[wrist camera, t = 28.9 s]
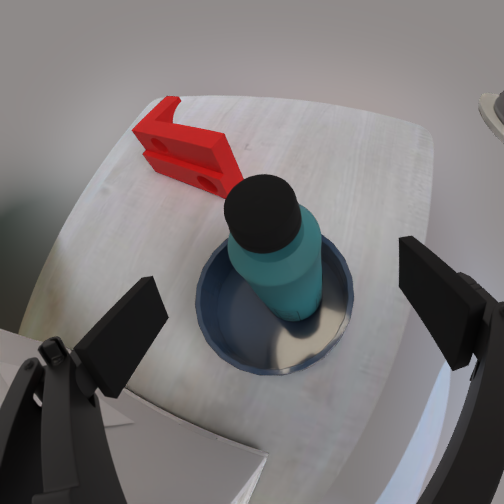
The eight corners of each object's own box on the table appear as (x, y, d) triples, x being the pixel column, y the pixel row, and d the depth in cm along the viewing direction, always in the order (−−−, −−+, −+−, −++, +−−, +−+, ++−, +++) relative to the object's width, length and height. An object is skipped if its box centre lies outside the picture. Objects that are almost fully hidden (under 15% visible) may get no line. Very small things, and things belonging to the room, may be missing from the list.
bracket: (127, 134, 39) (166, 96, 41) (155, 171, 48) (188, 134, 50) (206, 154, 31) (250, 105, 34) (230, 200, 40) (265, 154, 43)
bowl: (357, 255, 33) (363, 233, 27) (329, 387, 27) (332, 392, 22) (236, 236, 38) (222, 213, 32) (199, 352, 32) (176, 347, 27)
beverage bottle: (334, 293, 31) (349, 185, 13) (297, 338, 30) (262, 287, 12) (292, 261, 33) (256, 137, 16) (255, 302, 32) (176, 213, 15)
